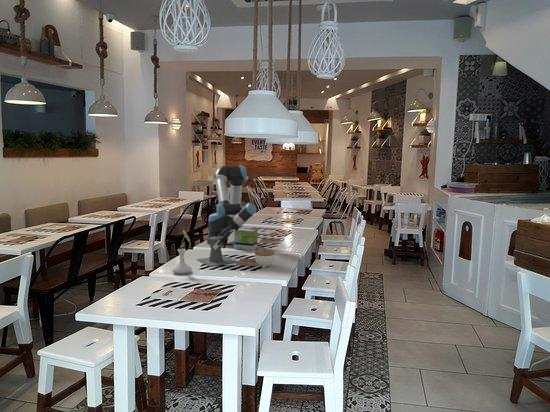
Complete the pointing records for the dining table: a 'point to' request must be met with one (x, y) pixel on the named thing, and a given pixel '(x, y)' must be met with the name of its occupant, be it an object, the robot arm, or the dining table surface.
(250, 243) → the tea box
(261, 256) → the lidded bowl
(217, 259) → the coffeepot
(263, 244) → the dining table surface
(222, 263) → the mat
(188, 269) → the flower in vase
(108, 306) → the dining table surface
